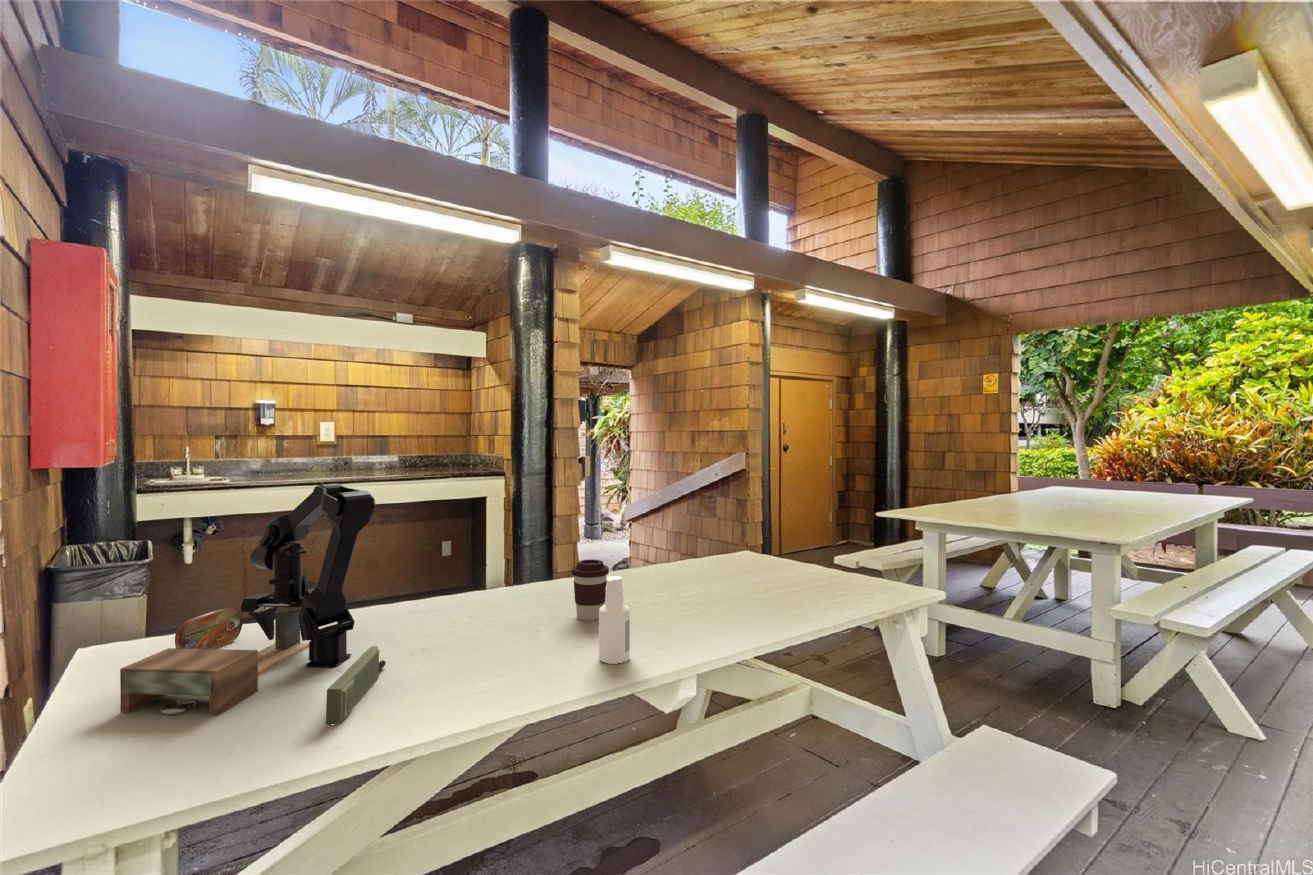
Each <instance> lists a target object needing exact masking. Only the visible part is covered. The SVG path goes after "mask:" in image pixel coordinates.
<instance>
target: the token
mask: <svg viewBox="0 0 1313 875" xmlns="http://www.w3.org/2000/svg"><path fill="white" fill-rule="evenodd" d="M196 707H197V700H196V699H195V698H187V697H186V698H180V699H176V700H172V701H169V702H167V703H165V704H163V705H162V706H161V707H160V715H161V716H163V717H172V716H174V717H175V716H179V715H183V714H185V713H189V712H191V711H192V710H194V709H195V708H196ZM178 714H179V715H178Z"/></svg>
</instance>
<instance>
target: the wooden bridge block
mask: <svg viewBox="0 0 1313 875" xmlns="http://www.w3.org/2000/svg"><path fill="white" fill-rule="evenodd" d="M258 652H259V650H258V649H227V648H226V649H225V648H223V649H219V648H218V649H178V648H176V647H175V648H173V647H172V648H171V647H170V648H169V647H168V648H165V649H164V650H161V651H159V652H156V653H153V654H152V655H150V656H147V657H145V658H143V659H140V660H138V661H135V662H133V663H131V664H128V665H126V666H123V667H121V668H119V669H120V672H119V673H120V674H119V676H120V678H119V680H120V682H119V684H120V685H119V686H120V687H119V688H120V695H119V696H120V714H131V713H132V711H133V712H135V711H137V710H138V709H140V708H142V707H144V706H147V705H149V704H151V702H154V701H156V700H159V699H160V698H163V697H164V696H194V697H196V696H199V697H201V696H202V697H203V696H204V697H209V699H208V700H209V701H208V702H209V716H214V717H218V716H220V715H221V714H223V713H225V712H226V711H228V710H230V709H231V708H233V707H235V706H236V705H238V704H239V703H241V702H242V701H244V700H246V699H247V698H249V697H251V696H253V695H254V694H256V693H257V692H259V682H258V681H259V676H258ZM134 710H135V711H134ZM130 712H131V713H130Z"/></svg>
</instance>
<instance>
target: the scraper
mask: <svg viewBox="0 0 1313 875" xmlns="http://www.w3.org/2000/svg"><path fill="white" fill-rule="evenodd" d="M300 612H301V610H296V611H295V610H292V611H291V610H289V611H287V612H285V613H282V614H279V615H278V616H276V617H274V639H275V640H274V641H275V643H273V644H271V645H269V646H267V647H265V648H263V649H262V650H260V651H259V650H258V677H259V676H261V675H263V674H265V673H267V672H268V671H270V670H272V669H274V668H275V667H277V666H278V664H279V665H280V664H282V663H284V662H286V661H287V660H289V659H291V658H292V657H294V656H296V655H298V654H300V653H301V652H303V651H305V650H306V649H309V643H306V642H305V643H301V631H300V623H299V614H300ZM302 650H303V651H302ZM285 660H286V661H285Z"/></svg>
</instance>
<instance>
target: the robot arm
mask: <svg viewBox="0 0 1313 875" xmlns="http://www.w3.org/2000/svg"><path fill="white" fill-rule="evenodd" d="M375 506H376V500H375V498H374V496H372V494H371V492H369V491H368V490H361V489H356V488H353V487H352V488H351V487H347V486H344V485H342V484H340V483H326V484H319V485H317V486H315V487H314V488H313V490H312V492H311V493H310V494H309V495H308V496H307V497H306V498H305V499H304V500H302V502H300V503H299V504H298V505H297V506H296V507H295V508H294V509H293V510H291V512H289V513H287V514H283V515H280V516H277V517H275V518H274V519H272V520H271V521H270V522H269V523H268V525H267V526H266V529H265V531H264V533H263V536H262V538H261V539H260V540H259V542H258V543H259V544H258V545H257V546H256V547H254V549H253V550H252V552H251V555H250V558H249V559H250V562H251V565H253V566H255V568H259V569H263V570H269V571H272V578H270V579H269V580H268V585H272V593H256V594H252V595H250V596H248V597H244V598H243V599H242V600H241V602H240V612H241V613H248V616H251V617H252V618H254V621H256V623H257V624H258V626H260V628H261V630H262V631H263V633H264V635H265V636H266V638H267V639H268V641H273V640H274V639H275V615H276V611H277V609H278V608H301V609H300V614H299V623H300V638H301V640H302V642H305V641H309V642H308V644H309V647H308V661H309V662H307V663H306V664H305V667H309V668H310V667H312V668H313V667H314V668H317V667H320V668H334V667H337V666H338V665H340V664H341V663H343V662H344V661H346V660H347V659H349V658H350V657H351V656H352V654H351V653H348V650H347V648H348V647H347V646H348V645H347V641H348V640H347V633H348V632H347V631H352V630H354V627H355V623H356V622H355V619H354V617H353V615H352V614H351V612H350V610H349V609H348V607H347V604H348V599H347V597H346V596H345V594H344V592H343V589H344V588H343V587H344V585H345V581H346V576H347V574H348V570H349V566H350V562H351V560H352V555H353V552H354V549H355V546H356V545H355V544H356V541H357V537H358V534H359V533H360V532H361V530H363V529H364V528H365V526H366V525H368V524H369V523H370V519H371V518H372V517H373V516H372V515H373V513H374V511H375ZM324 513H327V519H328V521H329V523H330V525H331V533H330V536H329V541H328V544H327V546H326V547H327V548H326V552H325V556H324V559H323V563H322V565H321V570H320V574H319V578H318V581H312V580H307V575H306V573H303V556H302V555H304V554H307V550H306V548H305V547H303V546H302V545H301V543H300V542H303V541H304V540H305V539H306V538H307V536H308V535H309V534H310V532H311V525H312V524H314V522H315V521H317V519H319V518H320V517H322V516H323V514H324ZM330 624H331V625H330ZM327 625H328V626H327ZM324 626H325V627H324ZM320 627H321V628H320Z"/></svg>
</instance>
